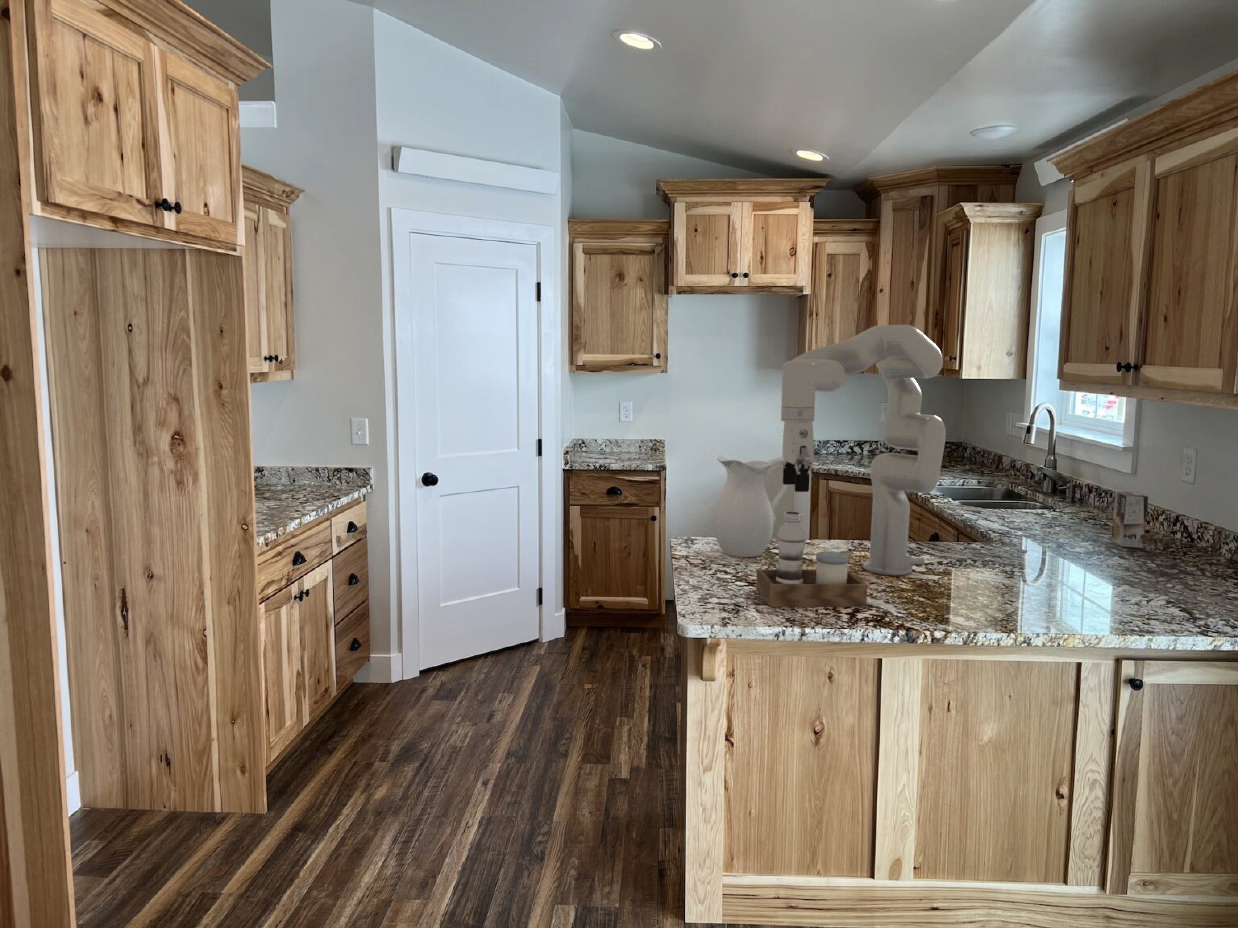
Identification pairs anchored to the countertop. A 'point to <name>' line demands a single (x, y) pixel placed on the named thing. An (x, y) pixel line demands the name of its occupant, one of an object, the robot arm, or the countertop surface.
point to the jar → (831, 567)
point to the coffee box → (1129, 519)
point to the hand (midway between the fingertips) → (795, 487)
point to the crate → (810, 591)
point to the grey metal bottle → (790, 550)
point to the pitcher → (746, 508)
